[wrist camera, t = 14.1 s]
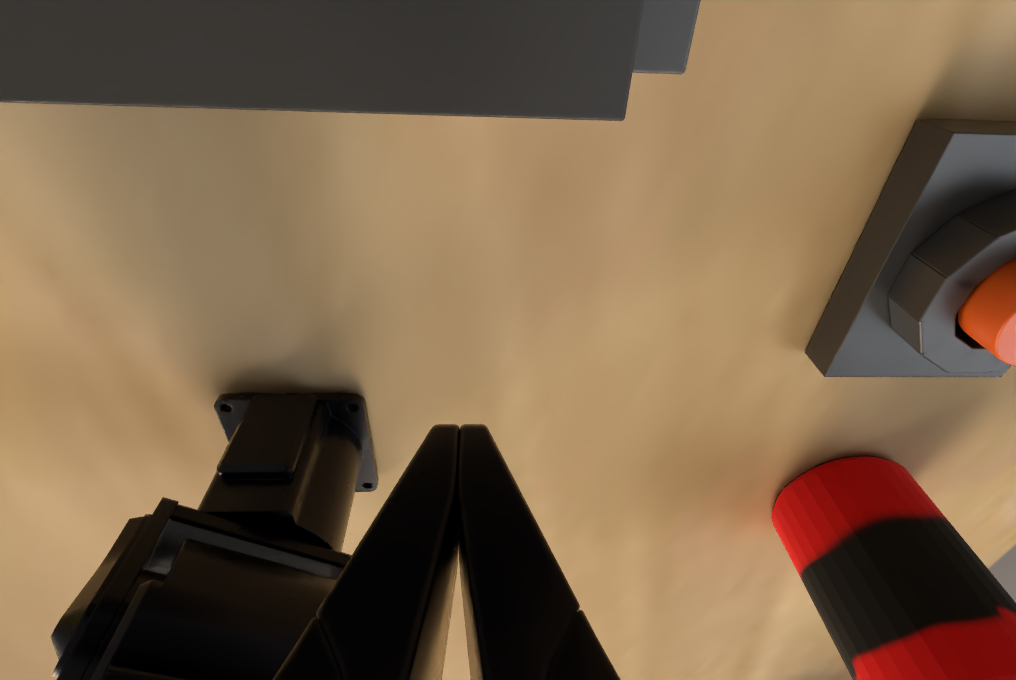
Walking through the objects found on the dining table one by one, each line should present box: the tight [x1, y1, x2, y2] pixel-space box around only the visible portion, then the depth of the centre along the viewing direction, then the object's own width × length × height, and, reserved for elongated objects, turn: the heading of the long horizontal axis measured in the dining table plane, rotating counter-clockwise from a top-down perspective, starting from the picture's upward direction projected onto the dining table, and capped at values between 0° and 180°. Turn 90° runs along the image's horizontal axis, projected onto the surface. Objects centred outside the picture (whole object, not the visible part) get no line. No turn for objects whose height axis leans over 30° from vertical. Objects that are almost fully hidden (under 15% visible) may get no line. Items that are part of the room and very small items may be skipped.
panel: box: [805, 119, 1016, 377], centre depth 19 cm, size 10×8×4 cm
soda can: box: [772, 456, 1016, 680], centre depth 25 cm, size 8×8×12 cm
